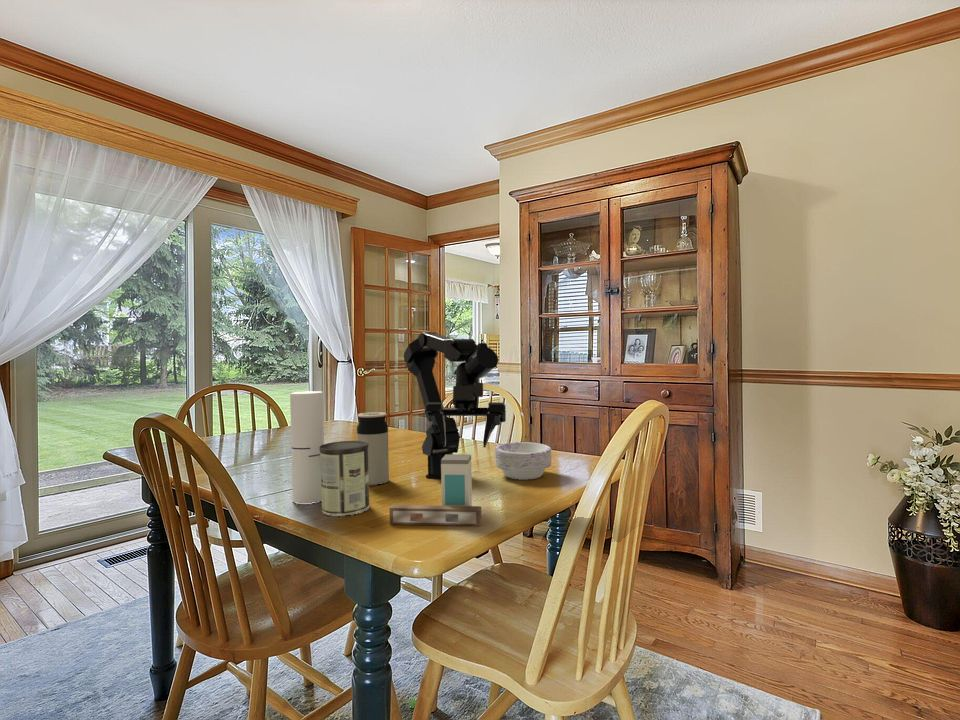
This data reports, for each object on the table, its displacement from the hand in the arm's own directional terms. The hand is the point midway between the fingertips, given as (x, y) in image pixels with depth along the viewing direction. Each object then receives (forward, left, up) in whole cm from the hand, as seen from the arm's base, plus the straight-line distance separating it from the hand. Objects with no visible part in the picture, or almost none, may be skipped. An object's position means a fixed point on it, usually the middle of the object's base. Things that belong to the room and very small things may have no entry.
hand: (464, 446), depth 114 cm
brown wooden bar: (-1, -16, -12) cm, 20 cm away
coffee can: (-23, -12, -12) cm, 29 cm away
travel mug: (-28, +10, -12) cm, 32 cm away
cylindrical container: (-35, -8, -12) cm, 38 cm away
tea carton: (+2, -10, -12) cm, 16 cm away
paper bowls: (+9, +25, -12) cm, 29 cm away
